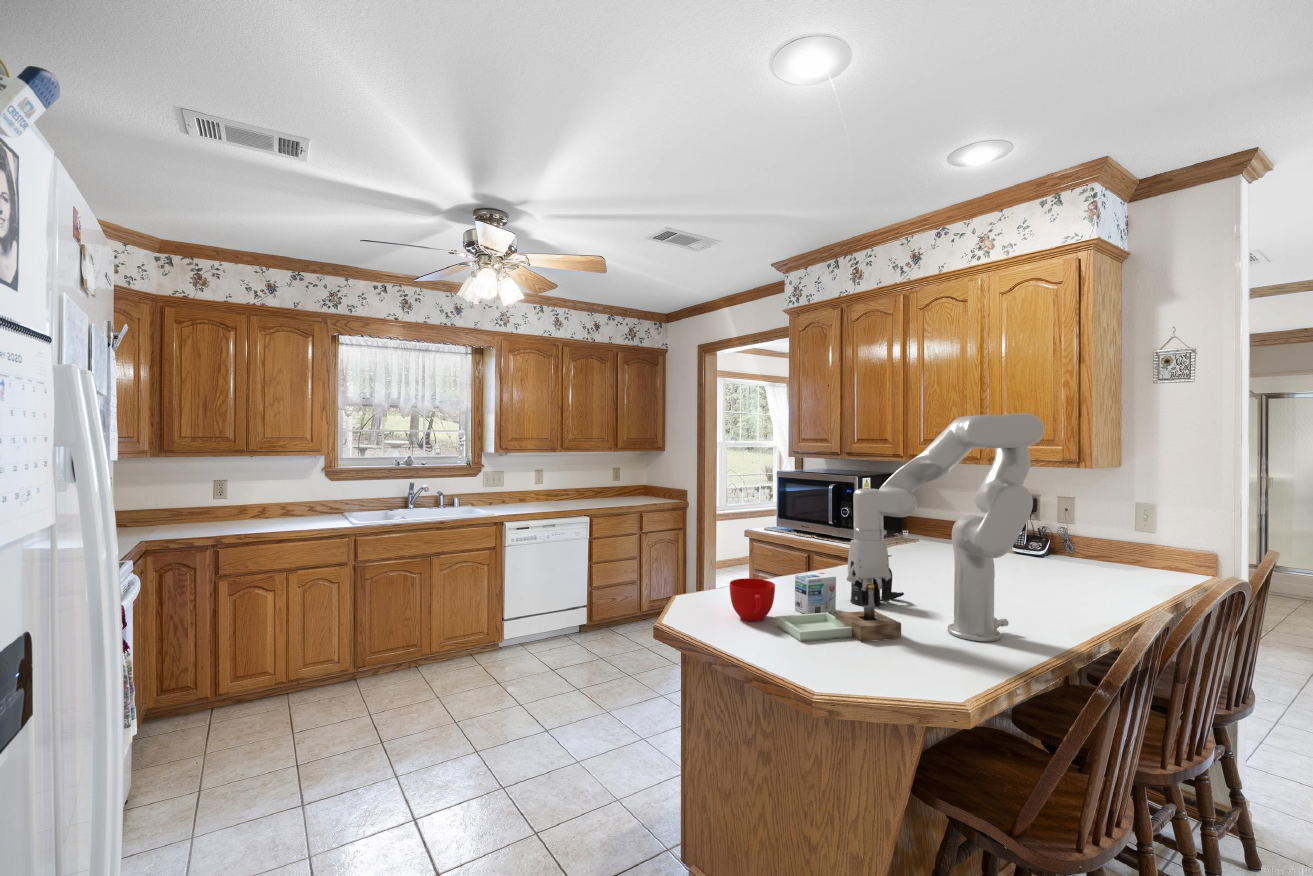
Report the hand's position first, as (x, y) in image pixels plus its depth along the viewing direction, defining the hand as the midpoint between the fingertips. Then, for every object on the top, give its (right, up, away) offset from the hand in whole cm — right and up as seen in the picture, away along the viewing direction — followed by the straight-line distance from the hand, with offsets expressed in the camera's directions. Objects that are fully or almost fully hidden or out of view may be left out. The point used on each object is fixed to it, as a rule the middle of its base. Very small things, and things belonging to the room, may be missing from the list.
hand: (869, 603), depth 165 cm
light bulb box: (-9, -8, +20) cm, 24 cm away
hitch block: (-1, -8, 0) cm, 8 cm away
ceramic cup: (-29, -8, +11) cm, 32 cm away
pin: (0, -5, 0) cm, 5 cm away
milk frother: (+13, -8, +31) cm, 34 cm away
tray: (-14, -8, +1) cm, 16 cm away
